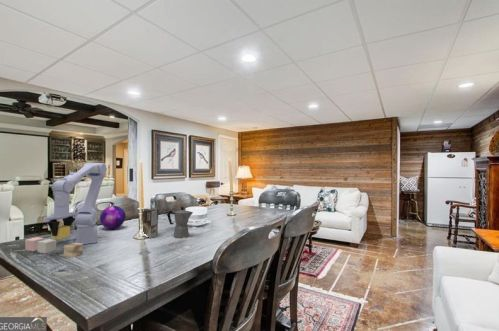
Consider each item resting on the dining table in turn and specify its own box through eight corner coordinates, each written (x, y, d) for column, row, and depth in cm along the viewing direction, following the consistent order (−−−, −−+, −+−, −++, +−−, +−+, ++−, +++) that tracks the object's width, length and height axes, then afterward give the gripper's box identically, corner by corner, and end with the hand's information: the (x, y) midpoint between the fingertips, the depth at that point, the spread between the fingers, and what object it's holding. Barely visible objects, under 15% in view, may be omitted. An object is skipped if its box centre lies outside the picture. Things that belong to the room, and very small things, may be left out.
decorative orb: (93, 230, 160) (94, 207, 160) (110, 225, 175) (111, 203, 175) (114, 232, 157) (115, 208, 158) (129, 226, 172) (130, 205, 172)
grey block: (48, 249, 123) (48, 238, 123) (56, 250, 122) (56, 240, 122) (37, 252, 118) (37, 241, 118) (45, 253, 117) (45, 242, 117)
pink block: (36, 247, 125) (36, 237, 125) (43, 248, 124) (44, 238, 124) (25, 250, 121) (25, 239, 121) (32, 251, 119) (33, 240, 119)
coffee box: (158, 235, 152) (159, 209, 153) (150, 238, 146) (151, 211, 146) (145, 234, 155) (146, 208, 156) (138, 236, 149) (139, 209, 149)
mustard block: (61, 235, 121) (62, 225, 121) (69, 236, 120) (70, 226, 120) (51, 238, 116) (51, 227, 116) (59, 239, 115) (59, 228, 115)
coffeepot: (192, 234, 159) (193, 205, 160) (192, 238, 150) (193, 208, 150) (167, 234, 156) (168, 205, 156) (165, 238, 147) (166, 208, 147)
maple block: (73, 253, 119) (74, 242, 119) (82, 254, 117) (82, 243, 117) (63, 256, 114) (64, 245, 114) (72, 258, 113) (72, 247, 113)
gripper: (70, 203, 126) (68, 229, 126) (39, 207, 112) (37, 237, 112) (80, 204, 124) (79, 231, 124) (50, 208, 110) (49, 239, 110)
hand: (60, 234), depth 118 cm, fingers closed on mustard block, 5 cm apart
